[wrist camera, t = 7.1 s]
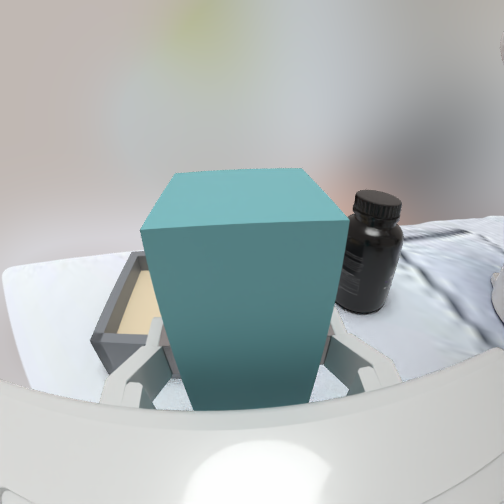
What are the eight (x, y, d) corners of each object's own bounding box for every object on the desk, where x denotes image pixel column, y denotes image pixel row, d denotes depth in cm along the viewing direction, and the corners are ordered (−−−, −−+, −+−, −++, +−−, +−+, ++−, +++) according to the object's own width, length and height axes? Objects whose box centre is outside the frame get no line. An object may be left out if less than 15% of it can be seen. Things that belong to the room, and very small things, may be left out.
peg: (280, 399, 17) (301, 168, 10) (289, 456, 13) (349, 220, 6) (215, 403, 17) (175, 173, 9) (216, 461, 13) (140, 229, 6)
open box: (268, 278, 34) (269, 245, 32) (288, 373, 22) (293, 339, 20) (139, 283, 33) (131, 251, 31) (108, 373, 21) (89, 340, 19)
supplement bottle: (393, 312, 28) (424, 212, 22) (337, 317, 28) (359, 209, 22) (374, 277, 34) (393, 188, 28) (324, 278, 34) (337, 184, 28)
